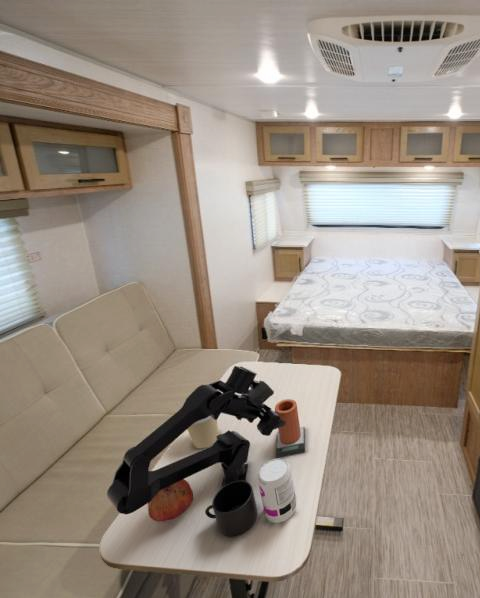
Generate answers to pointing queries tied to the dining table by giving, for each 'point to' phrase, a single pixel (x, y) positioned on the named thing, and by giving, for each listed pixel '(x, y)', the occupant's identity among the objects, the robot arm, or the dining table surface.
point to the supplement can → (277, 490)
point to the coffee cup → (204, 432)
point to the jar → (288, 421)
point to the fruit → (171, 502)
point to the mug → (234, 508)
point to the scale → (291, 445)
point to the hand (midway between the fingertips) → (277, 416)
